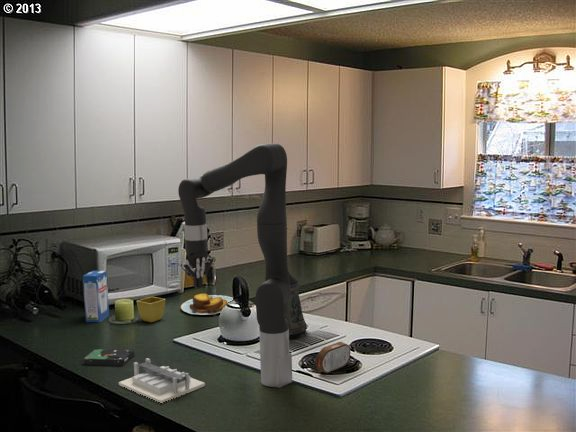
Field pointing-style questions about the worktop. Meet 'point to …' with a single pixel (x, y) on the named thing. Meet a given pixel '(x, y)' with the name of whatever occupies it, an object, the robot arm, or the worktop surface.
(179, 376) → the strap
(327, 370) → the tin
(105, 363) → the disk drive
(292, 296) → the beer stein
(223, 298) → the food on plate
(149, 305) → the flower pot
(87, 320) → the milk carton
